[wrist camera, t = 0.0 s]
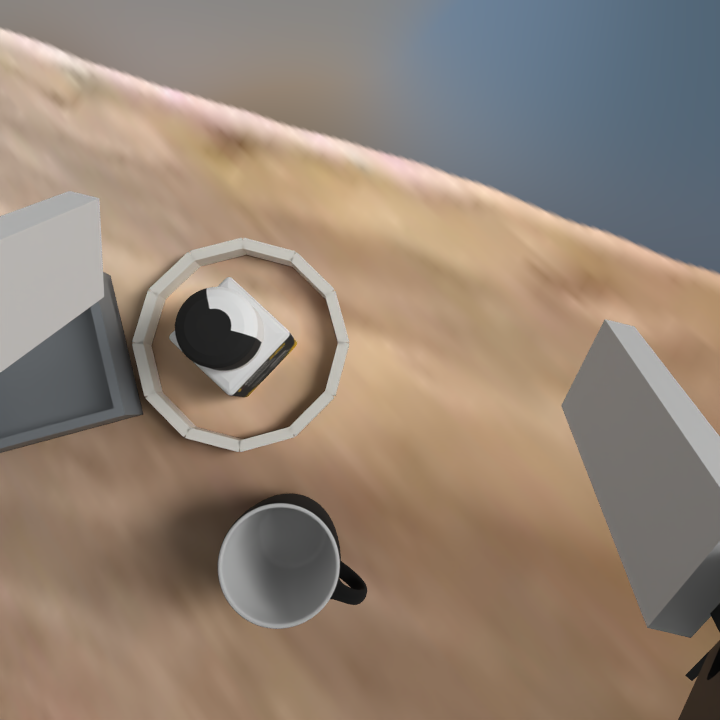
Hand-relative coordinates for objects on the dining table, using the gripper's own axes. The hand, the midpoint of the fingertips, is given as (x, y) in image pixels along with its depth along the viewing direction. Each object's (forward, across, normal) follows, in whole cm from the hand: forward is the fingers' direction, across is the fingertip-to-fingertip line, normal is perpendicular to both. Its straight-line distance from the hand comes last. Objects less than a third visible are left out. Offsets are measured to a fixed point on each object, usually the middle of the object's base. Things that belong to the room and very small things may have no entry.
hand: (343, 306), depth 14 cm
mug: (+20, 0, +34) cm, 39 cm away
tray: (+26, +27, +25) cm, 45 cm away
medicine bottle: (+30, +10, +20) cm, 37 cm away
